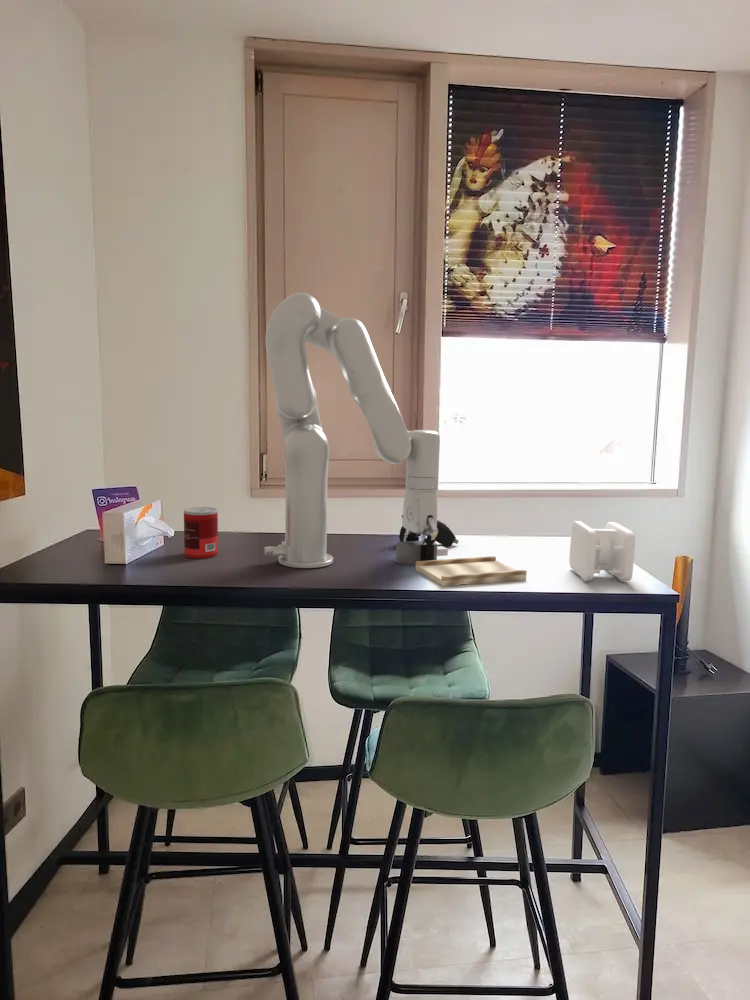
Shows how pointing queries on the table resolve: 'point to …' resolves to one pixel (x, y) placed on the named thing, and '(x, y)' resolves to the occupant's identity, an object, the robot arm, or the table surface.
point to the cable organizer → (602, 550)
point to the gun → (442, 537)
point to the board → (469, 571)
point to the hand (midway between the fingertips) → (419, 556)
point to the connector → (415, 552)
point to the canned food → (200, 532)
